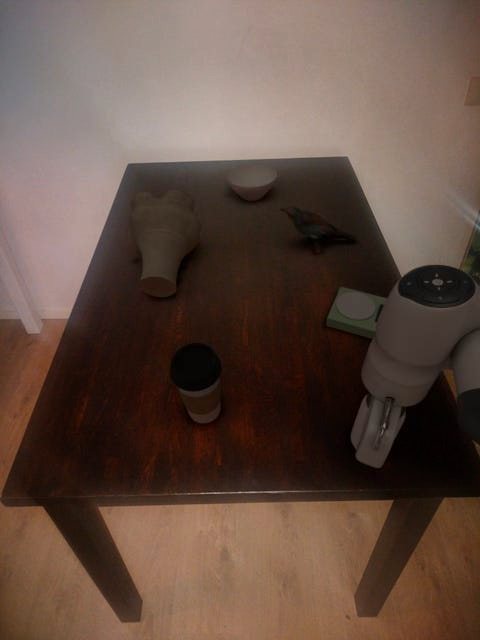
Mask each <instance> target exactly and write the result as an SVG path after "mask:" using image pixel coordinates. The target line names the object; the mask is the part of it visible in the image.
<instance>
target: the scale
mask: <svg viewBox="0 0 480 640" xmlns="http://www.w3.org/2000/svg"><path fill="white" fill-rule="evenodd" d="M387 298H388V297H384V296H380V295H375V294H371V293H368V292H364V291H359V290H355V289H352V288H348V287H344V286H340V287H339V289H338V291H337V294H336V296H335V298H334V301H333V303H332V304H331V305H332V306H331V308H330V310H329V312H328V315H327V317H326V322H325V326H326V327H330V328H333V329H336V330H338V331H339V330H340V331H343V332H346V333H350V334H354V335H357V336H361V337H364V338H367V339H371V340H373V339H374V337H375V336H376V325H377V322H378V319H379V316H380V313H381V311H382V308H383V306H384V304H385V302H386V300H387Z"/></svg>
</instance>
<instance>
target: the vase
mask: <svg viewBox="0 0 480 640" xmlns="http://www.w3.org/2000/svg"><path fill="white" fill-rule="evenodd" d="M130 207H131V209H132V212H131V214H130V217H129V231H130V235H131V237H132V240H133V241H134V242H135V244H136V245H137V247H138V249H139V251H140V253H141V254H140V255H141V260H142V261H141V262H142V271H141V272H142V273H141V277H140V279H139V288H140V290H141V291H142V292H144V293H145V294H147V295H150V296H151V297H156V298H168V297H170V296H173V295H174V294H175V293H176V292H177V291H178V290H177V288H178V287H177V277H178V271H179V269H180V268H179V267H180V265H181V263H182V260H183V259H184V258H185V257H186V255H188V254H189V253H191V252H192V251H193V250H194V249H195V247H197V245H198V243H199V240H200V237H201V230H202V227H203V225H202V222H201V220H200V219H199V218H198V217H196V216H195V214H194V209H195V199H194V197H192V196H191V194H189V193H187V192H186V191H183V190H179V189H169V190H167V191H166V192H165V193H164V194H163V196H162V197H161V198H158V197H156V196H155V195H153V194H152V193H149V192H145V191H144V192H143V191H142V192H139V193H135V194H134V195H133V196H132V198H131V199H130Z"/></svg>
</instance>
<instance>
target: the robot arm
mask: <svg viewBox="0 0 480 640" xmlns="http://www.w3.org/2000/svg"><path fill="white" fill-rule="evenodd" d="M386 298H387V300H386V302H385V304H384V306H383V308H382V311H381V313H380V316H379V319H378V322H377V325H376V336H375V337H374V339H371V342H370V343H369V345H368V349H367V352H366V355H365V357H364V360H363V362H362V366H361V369H360V375H361V376H360V377H361V381H362V383H363V386H364V387H365V388H366V390H367V391H368V393H369V392H370V393H371V394H372V395H371V399H370V403H369V406H368V409H367V413H366V416H365V420H364V424H363V427H362V431H361V435H360V438H359V442H358V445H357V449H355V454H354V455H355V459H356V460H357V461H359V463H361V464H364V465H367V466H368V467H372V468H375V469H381V468H382V467H383V466H384V464H385V462H386V460H387V458H388V455H389V454H390V451H391V449H392V447H393V444H394V441H395V440H396V437H395V435H396V431H397V427H398V422H399V417H400V413H401V408H402V407H412V406H415V405H417V404H419V403H421V402H422V401H423V400H424V399H425V398H426V397H427V395H428V393H429V392H430V390H431V388H432V387H433V386H434V383H435V382H436V380H437V379H438V376H439V375H440V374H441V372H443V371H446V370H449V371H452V375H453V379H454V385H455V391H456V398H455V399H456V401H455V402H456V413H457V414H456V415H457V425H458V428H459V429H460V430H461V431H462V432H463V433H464V434H465V435H466V436H467V437H469V439H471V440H472V441H473V442H474V443H476V444H477V445H478V446H480V284H479V283H477V282H476V280H475V279H474V278H473V277H472V276H471V275H470V274H469V273H467V272H466V271H464V270H462V269H460V268H458V267H454V266H450V265H447V264H425V265H421V266H418V267H415V268H413V269H411V270H409V271H408V272H406V273H405V274H404V275H402V276H401V277H400V278H399V279H398V281H397V282H396V283H395V284H394V285H393V287H392V289H391V290H390V291H389V294H388V296H387V297H386Z"/></svg>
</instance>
